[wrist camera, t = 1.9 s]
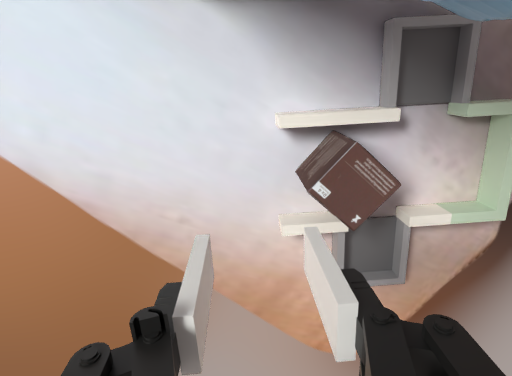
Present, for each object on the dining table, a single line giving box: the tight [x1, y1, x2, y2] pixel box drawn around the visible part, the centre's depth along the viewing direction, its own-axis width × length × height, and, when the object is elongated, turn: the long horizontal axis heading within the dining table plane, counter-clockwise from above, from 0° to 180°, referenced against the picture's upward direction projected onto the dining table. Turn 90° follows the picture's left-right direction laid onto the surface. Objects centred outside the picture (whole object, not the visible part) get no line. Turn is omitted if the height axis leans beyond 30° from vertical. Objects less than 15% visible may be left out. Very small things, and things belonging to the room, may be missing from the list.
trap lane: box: [275, 14, 512, 286], centre depth 33 cm, size 28×24×3 cm
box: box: [295, 130, 401, 231], centre depth 31 cm, size 6×6×7 cm
